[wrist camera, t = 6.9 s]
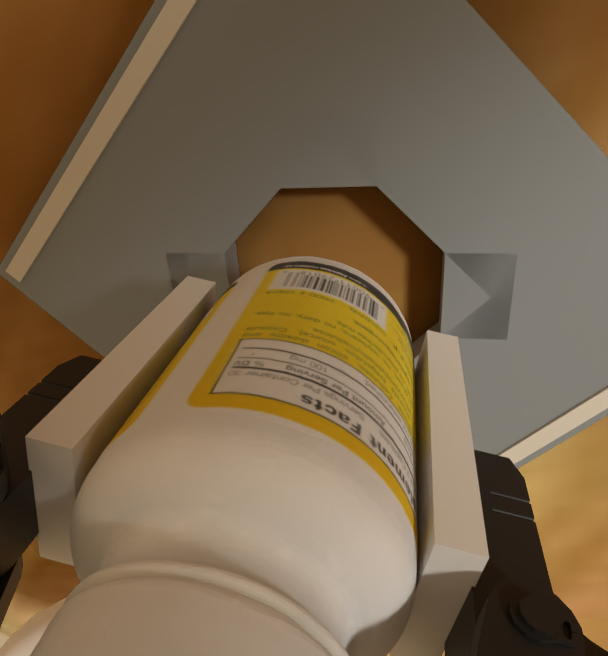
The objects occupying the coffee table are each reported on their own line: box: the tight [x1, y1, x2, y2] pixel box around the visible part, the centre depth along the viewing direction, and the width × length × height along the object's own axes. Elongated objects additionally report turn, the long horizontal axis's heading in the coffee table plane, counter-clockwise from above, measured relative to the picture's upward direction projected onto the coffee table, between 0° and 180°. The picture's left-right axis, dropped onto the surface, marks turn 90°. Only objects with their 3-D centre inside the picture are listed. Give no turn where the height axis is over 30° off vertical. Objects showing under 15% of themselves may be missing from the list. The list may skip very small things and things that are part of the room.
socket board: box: [0, 0, 608, 469], centre depth 18 cm, size 16×18×1 cm
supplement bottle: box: [30, 256, 418, 656], centre depth 10 cm, size 5×5×10 cm
